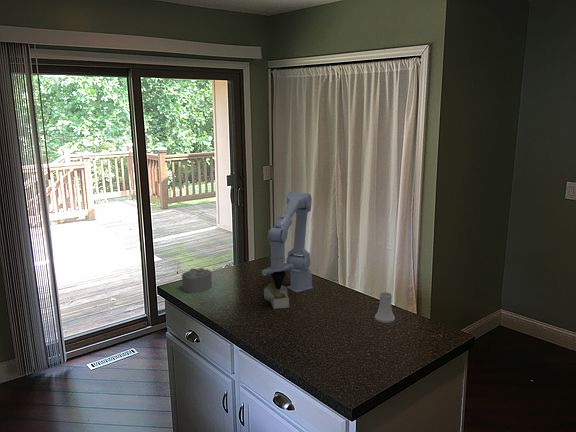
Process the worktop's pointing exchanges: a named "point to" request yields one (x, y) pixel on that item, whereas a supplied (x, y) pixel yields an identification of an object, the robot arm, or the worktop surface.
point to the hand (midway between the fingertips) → (278, 288)
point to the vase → (385, 309)
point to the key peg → (275, 291)
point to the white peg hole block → (277, 301)
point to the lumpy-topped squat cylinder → (196, 280)
